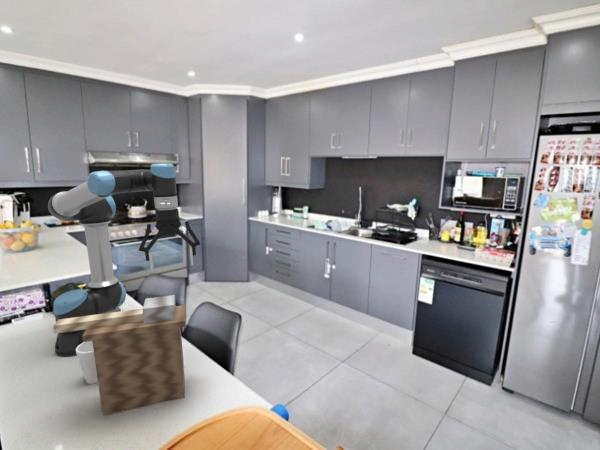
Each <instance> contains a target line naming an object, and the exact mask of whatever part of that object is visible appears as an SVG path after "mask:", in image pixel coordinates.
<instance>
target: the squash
mask: <svg viewBox="0 0 600 450" xmlns="http://www.w3.org/2000/svg"><path fill="white" fill-rule="evenodd" d="M77 289H82V288H81V287H80V286H78V285H77V284H76V283H75V282H73V281H72V282H71V281H70V282H68V283H66V284H63V285H62V286H61V287H59V288H57V289H56V290H55V291H54V292H53V293H52V295H51V298H50V306H51V309H52V310H53V311H54V305H53V304H54V301H55V300H56V298H57V297H58V296H60V295H62V294H64V293H66V292H69V291H72V290H77Z"/></svg>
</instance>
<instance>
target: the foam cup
mask: <svg viewBox="0 0 600 450" xmlns="http://www.w3.org/2000/svg"><path fill="white" fill-rule="evenodd" d="M76 354H77V355H76V357H77V359H78V361H79V365H80V367H81V370H82V372H83V376H84V378H85V379H84V380H85V381H86V382H85V383H86V384H89V385H91V384H96V383H97V384H98V378H97V371H96V364H95V357H94V349H93V342H92V341H88V342H83V343H81V344H80V345H78V347H77V348H76Z"/></svg>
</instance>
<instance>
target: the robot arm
mask: <svg viewBox="0 0 600 450" xmlns="http://www.w3.org/2000/svg"><path fill="white" fill-rule="evenodd" d="M176 177H177V176H176V172H175V165H173V164H172V163H153V164H151V165H150V169H130V170H129V169H128V170H127V169H126V170H99V171H92V172H90V173H89V175H88V177H87V179H86V180H87V181H85V182H83V183H80V184H79V185H77V186H75V187H73V188H72V189H69V190H67V191H65V190H64V191H59V192H58V193H55V194H53V196H51V197H50V199H49V200H48V203H47V209H48V211H49V213H50V215H52V216H53V217H54V218H56V219H57V220H60V221H63V222H77V221H78V224H79V225H80V226H82V227H83V229H84V235H85V243H86V249H87V257H88V264H89V269H90V270H89V271H90V279H91V281H90V282H89V283H88V284H87V286H88V287H87V288H88V290H86V289H82V288H81V289H77V290H72V291H69V292H66V293H64V294H62V295H60V296H58V297H57V298H56V300H55V301H54V304H53V305H54V310H53V314H54V318H55V323H56V322H57V321H58V319H66V318H74V317H81V316H89V315H97V314H102V313H105V312H108V311H110V310H114V309H115V308H117V307H119V308H120V307H121V306H122V305H123V304H124V303H125V301H126V299H127V291H126V288H125V285H124V284H123V282H122V281H119V279H118V278H117V277H116V276H115V274H114V267H113V258H112V250H111V241H110V235H109V226H108V225H109V224H110V223H111V222H112V219H111V217H113V216H114V215H115V214H116V210H117V206H116V203H115V200H114V198H113V195H116V194H126V193H127V194H129V193H137V192H139V193H141V192H153V202H154V203H153V204H154V209H156V210H155V211H154V212H155V221H156V222H155V223H150V222H148V223H147V224H146V231H145V233H144V236H143V238H142V241H141V243H140V245H139V247H138V251H139V252H144V255H145V261H146V262H149V267H150V271H154V261H153V260H154V259H153V254H152V253H153V252H152V250H151V249H152V247H153V246H154V245H155V244H156V243H157V241H158V239H159V238H160V237H161V236H162V235H163V236H169V235H171V236H173V235H174V236H175V234H177V235H178V236H179V237H181V238H182V239H183V240H184V241H185V242H186V243H187V244H188V245H189V255H190V257H189V258H190V265H191V266H194V257H195V256H196V255H197V254H196V253H197V252H196V247H197V246H200V245H201V242H200V240H199V239H198V237H197V235H196V234H195V232H194V231H193V229H192V227H191V226H190V222H189V220H188V219H185V220H183V221H181V220H180V214H179V209H178V208H177V207H179V204H178V202H179V200H178V194H177V193H178V192H177V191H178V189H177V181H176V180H177V179H176ZM182 226H183V228H186V230H187V231H188V233H189V235H190V236H191V238H192V239H193V240H192V239H190V238H189V237H188V236H187V235H186V234H185V233H184V232H183V231H182V230H180V228H181V227H182ZM154 228H156V230H158V231H157V233H156V234H155V235H154V236H153V238H152V239H151V240H150V242H149V243H148V244H147V246H146V247H145V245H146V242H147V240H148V239H149V235H150V234H151V231H153V230H154ZM85 331H86V329H84V330H77V331H70V332H63V333H57V334H56V335H57V336H56V340H55V344H54V351H55V352H54V353H55V354H56V355H57V356H59V357H74V356H77V354H76V348H77V347H78V345H80V344H81V343H83V337H82V336H83V334H84V332H85Z"/></svg>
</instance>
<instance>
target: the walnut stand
mask: <svg viewBox="0 0 600 450" xmlns="http://www.w3.org/2000/svg"><path fill="white" fill-rule="evenodd" d="M186 311H187V309H186V304H182V305H176V315H175V320H168V321H161V322H154V323H147V324H144V321H141V322H134V323H127V324H120V325H113V326H105V327H98V328H91V329H86V331H85V332H84V334H83V336H82V337H83V342H88V341H92V342H93V349H94V357H95V364H96V371H97V378H98V382H97V384H98V391H99V398H100V399H99V400H100V405H101V413H102V416H105V415H106V416H107V415H111V414H115V413H121V412H125V411H129V410H133V409H139V408H143V407H148V406H152V405H157V404H161V403H165V402H171V401H176V400H179V399H185V393H186V392H185V391H186V390H185V388H186V387H185V382H186V381H185V380H186V379H185V364H184V352H183V341H182V340H183V339H182V328H186V318H187V317H186V316H187V315H186V313H187V312H186Z"/></svg>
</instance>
